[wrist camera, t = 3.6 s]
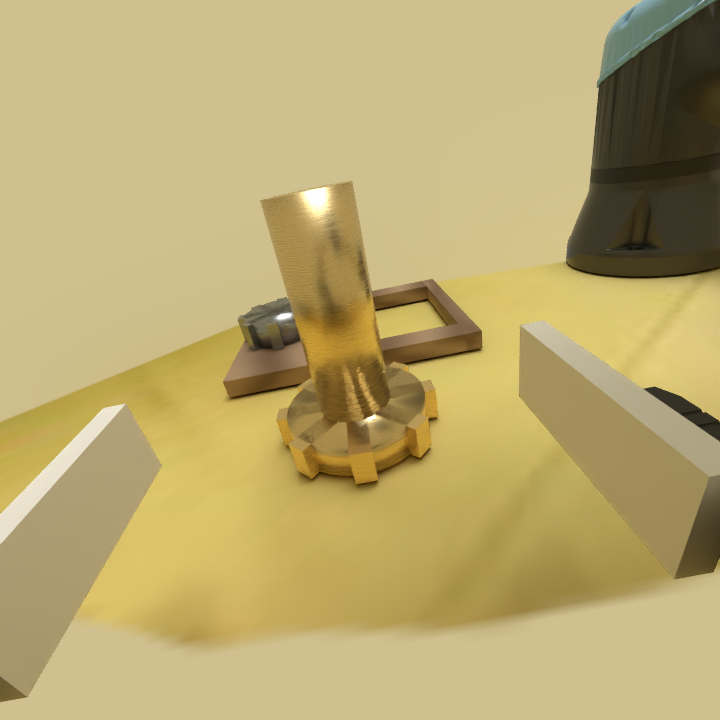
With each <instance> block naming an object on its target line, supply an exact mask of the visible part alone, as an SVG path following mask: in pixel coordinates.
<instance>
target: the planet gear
mask: <svg viewBox="0 0 720 720" xmlns="http://www.w3.org/2000/svg"><path fill="white" fill-rule="evenodd" d="M260 201H261V205H262V208H263V212H264V215H265V219H266V222H267V226H268V229H269V233H270V236H271V240H272V243H273V247H274V250H275V253H276V257H277V261H278V264H279V267H280V271H281V274H282V277H283V281H284V285H285V288H286V292H287V295H288V299H289V302H290V306H291V309H292V313H293V316H294V320H295V323H296V327H297V330H298V333H299V337H300V340H301V344H302V347H303V351H304V354H305V358H306V361H307V365H308V368H309V372H310V375H311V378H310V379H308V380H307V381H305V382H304V383H302V384H301V385H299V386H298V389H299V392H300V393H299V394H298V395H297V396H296V397H295V398H294V400H293V401H292V402H291V404H290V406H289V408H284V409H279V412H278V416H277V424H278V426H279V429H280V432H281V435H282V437H283V440H284V443H285V446H287V445H289V447H290V450H291V453H292V455H293V458H294V461H295V464H296V467H297V469H298V471H299V472H301V473H303V474H304V475H306V476H308V477H309V478H311V479H312V478H313V477H314V476H315V475H316V474H317V473H319V472H320V471H321V472H324V473H327V474H333V475H341V476H353V475H354V479H355V483H356V484H361V483H366V482H371V481H376V480H378V475H377V471H379V470H382V469H385V468H388V467H390V466H392V465H394V464H396V463H398V462H399V461H401V460H403V459H404V458H406V457H407V456H408V455H410V454H411V455H414V456H416V457H418V458H421V456H422V455H423V454H424V453H425V452H426V451H427V450H428V448H429V447H430V446H431V437H430V429H429V421H428V418H432V417H438V412H437V402H436V393H435V388H434V386H433V384H432V382H431V380H427V381H422V382H420V381H419V380H418V379H417V378H416V377H415V376H414V375H412V374H411V373H409V371H408V365H405V364H401V363H397V362H393V363H392V364H390V365H389V366H385V364H384V358H383V352H382V347H381V341H380V335H379V330H378V324H377V318H376V313H375V307H374V301H373V296H372V290H371V284H370V279H369V273H368V268H367V262H366V256H365V251H364V245H363V239H362V234H361V228H360V223H359V217H358V211H357V205H356V200H355V194H354V188H353V182H352V181H347V182H342V183H336V184H331V185H326V186H321V187H316V188H312V189H307V190H302V191H297V192H293V193H288V194H284V195H279V196H275V197H271V198H267V199H263V200H260Z"/></svg>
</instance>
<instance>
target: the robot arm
mask: <svg viewBox="0 0 720 720" xmlns="http://www.w3.org/2000/svg"><path fill="white" fill-rule="evenodd" d="M597 88H599V92H598V103H597V115H596V126H595V136H594V148H593V157H592V166H591V177H590V187H589V192H588V195H587V197H586V200H585V202H584V204H583V207H582V209H581V212H580V214H579V216H578V219H577V221H576V224H575V226H574V229H573V232H572V234H571V236H570V238H569V240H568V244H567V256H566V261H567V263H568V264H569V265H570V266H572V267H574V268H577V269H579V270H583V271H587V272H592V273H598V274H605V275H616V276H664V275H676V274H685V273H692V272H698V271H704V270H708V269H712V268H716V267H719V266H720V0H643V1H641V2H640V3H638V4H637V5H635V6H634V7H632V8H631V9H630V10H628V11H627V12H626V13H625V14H624V15H623V16H621V17H620V18H619V19H618V20H617V22H616V23H615V24H614V25H613V27H612V28H611V30H610V31H609V33H608V35H607V38H606V41H605V45H604V51H603V58H602V65H601V71H600V78H599V80H598V81H597ZM519 397H520V398H521V399H522V400H523V401H524V402H525V404H526V405H527V406H528V407H529V408H530V410H531V411H532V412H533V413H534V414H535V415H536V417H537V418H538V419H539V420H540V421H541V423H542V424H543V425H544V426H545V427H546V428H547V430H548V431H549V432H550V433H551V434H552V436H553V437H554V438H555V439H556V440H557V442H558V443H559V444H560V445H561V446H562V447H563V449H564V450H565V451H566V452H567V453H568V455H569V456H570V457H571V458H572V459H573V460H574V462H575V463H576V464H577V465H578V466H579V468H580V469H581V470H582V471H583V472H584V473H585V475H586V476H587V477H588V478H589V479H590V481H591V482H592V483H593V484H594V485H595V486H596V488H597V489H598V490H599V491H600V492H601V494H602V495H603V496H604V497H605V498H606V499H607V501H608V502H609V503H610V504H611V505H612V507H613V508H614V509H615V510H616V511H617V512H618V514H619V515H620V516H621V517H622V518H623V520H624V521H625V522H626V523H627V524H628V525H629V527H630V528H631V529H632V530H633V531H634V533H635V534H636V535H637V536H638V537H639V538H640V540H641V541H642V542H643V543H644V544H645V546H646V547H647V548H648V549H649V550H650V551H651V553H652V554H653V555H654V556H655V557H656V559H657V560H658V561H659V562H660V563H661V564H662V566H663V567H664V568H665V569H666V570H667V572H668V573H669V574H670V575H671V576H672V577H673V579H678V578H684V577H689V576H695V575H700V574H706V573H711V572H714V569H715V567H716V565H717V562H718V560H719V558H720V422H719V420H717V419H716V418H714V417H712V416H711V415H709V414H708V413H706V412H705V413H703V412H702V410H701V409H700V408H698V407H697V406H695V405H694V404H692V403H690V402H689V401H687V400H686V399H684V398H683V397H681V396H678V395H676V394H673V393H670V392H668V391H665V390H662V389H660V388H657V387H650V388H645V389H643V388H641V387H640V386H638V385H637V384H635V383H634V382H632V381H631V380H629V379H628V378H627V377H625V376H624V375H622V374H621V373H619V372H618V371H616V370H615V369H613V368H612V367H611V366H609V365H608V364H606V363H605V362H603V361H602V360H600V359H599V358H598V357H596V356H595V355H593V354H592V353H590V352H589V351H587V350H586V349H584V348H583V347H582V346H580V345H579V344H577V343H576V342H574V341H573V340H571V339H570V338H568V337H567V336H566V335H564V334H563V333H561V332H560V331H558V330H557V329H555V328H554V327H553V326H551V325H550V324H548V323H547V322H545V321H544V320H543V321H538V322H533V323H528V324H523V325H520V363H519ZM161 466H162V465H161V463H160V461H159V460H158V458H157V456H156V454H155V453H154V451H153V449H152V448H151V446H150V444H149V442H148V441H147V439H146V437H145V436H144V434H143V432H142V430H141V429H140V427H139V425H138V424H137V422H136V420H135V418H134V417H133V415H132V413H131V412H130V410H129V408H128V406H127V405H126V404H122V405H117V406H112V407H107V408H103V409H102V410H101V411H100V412H99V413H98V414H97V416H96V417H95V418H94V419H93V420H92V421H91V422H90V423H89V424H88V425H87V426H86V427H85V428H84V429H83V430H82V431H81V432H80V433H79V434H78V435H77V436H76V437H75V438H74V439H73V440H72V441H71V442H70V443H69V444H68V445H67V446H66V447H65V448H64V449H63V450H62V452H61V453H60V454H59V455H58V456H57V457H56V458H55V459H54V460H53V461H52V462H51V463H50V464H49V465H48V466H47V467H46V468H45V469H44V470H43V471H42V472H41V473H40V474H39V475H38V476H37V477H36V478H35V479H34V480H33V481H32V482H31V483H30V484H29V485H28V486H27V488H26V489H25V490H24V491H23V492H22V493H21V494H20V495H19V496H18V497H17V498H16V499H15V500H14V501H13V502H12V503H11V504H10V505H9V506H8V507H7V508H6V509H5V510H4V511H3V512H2V513H1V514H0V702H3V701H8V700H14V699H19V698H25V697H28V695H29V693H30V692H31V690H32V689H33V687H34V685H35V683H36V682H37V680H38V678H39V676H40V675H41V673H42V671H43V670H44V668H45V666H46V664H47V663H48V661H49V659H50V658H51V656H52V654H53V652H54V651H55V649H56V647H57V645H58V644H59V642H60V640H61V638H62V637H63V635H64V633H65V632H66V630H67V628H68V627H69V625H70V623H71V621H72V620H73V618H74V616H75V615H76V613H77V611H78V609H79V608H80V606H81V604H82V602H83V601H84V599H85V597H86V596H87V594H88V592H89V590H90V589H91V587H92V585H93V584H94V582H95V580H96V578H97V577H98V575H99V573H100V571H101V570H102V568H103V566H104V565H105V563H106V561H107V559H108V558H109V556H110V554H111V553H112V551H113V549H114V547H115V546H116V544H117V542H118V540H119V539H120V537H121V535H122V534H123V532H124V530H125V528H126V527H127V525H128V523H129V522H130V520H131V518H132V516H133V515H134V513H135V511H136V509H137V508H138V506H139V504H140V503H141V501H142V499H143V497H144V496H145V494H146V492H147V491H148V489H149V487H150V485H151V484H152V482H153V480H154V478H155V477H156V475H157V473H158V472H159V470H160V468H161Z"/></svg>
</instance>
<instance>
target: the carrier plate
mask: <svg viewBox="0 0 720 720" xmlns="http://www.w3.org/2000/svg"><path fill="white" fill-rule="evenodd" d="M372 296H373V301H374V307H375V309H380V308H385V307H390V306H395V305H400V304H405V303H409V302H414V301H419V300H424V299H429V301H430V302H431V303H432V305H433V306H434V307H435V309H436V310H437V311H438V313H439V314H440V315H441V316H442V318H443V319H444V320H445V322H446V323H447V324H448V326H444V327H439V328H434V329H429V330H424V331H419V332H414V333H408V334H403V335H398V336H393V337H388V338H383V339H380V341H381V347H382V352H383V358H384V364H385V366H389V365H390V364H392V363H393V362H397V363H401V364H402V363H407V362H412V361H417V360H422V359H427V358H432V357H437V356H442V355H447V354H452V353H458V352H463V351H468V350H473V349H478V348H482V331H481V330H480V329H479V327H478V326H477V325H476V324H475V323H474V322H473V321H472V320H471V319H470V318H469V317H468V316H467V315H466V314H465V313H464V312H463V311H462V310H461V309H460V308H459V306H458V305H457V304H456V303H455V302H454V301H453V300H452V299H451V298H450V297H449V296H448V295H447V294H446V293H445V292H444V291H443V290H442V289H441V288H440V286H439V285H438V284H437V283H436V282H435V281H434V280H433V279H430V280H425V281H420V282H416V283H411V284H405V285H401V286H396V287H391V288H386V289H381V290H376V291H372ZM310 378H311V375H310V372H309V368H308V365H307V361H306V358H305V354H304V351H303V347H302V344H301V341H299V342H297V343H294V344H291V345H288V346H286V347H285V349H281V350H276V351H274V349H259V350H257V351H254V350H250V348H249V345H248V343H246V341H244V343H243V345H242V347H241V349H240V351H239V353H238V354H237V356H236V358H235V360H234V362H233V364H232V366H231V368H230V370H229V372H228V373H227V375H226V377H225V379H224V381H223V383H224V385H225V388H226V390H227V393H228V395H229V397H234V396H239V395H244V394H249V393H254V392H259V391H264V390H270V389H275V388H280V387H285V386H290V385H295V384H300V383H304V382H305V381H307V380H308V379H310Z"/></svg>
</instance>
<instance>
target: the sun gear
mask: <svg viewBox="0 0 720 720" xmlns="http://www.w3.org/2000/svg"><path fill="white" fill-rule="evenodd" d="M238 322H239V325H240V327H241V330H242V333H243V335H244V338H245V341H246V343H248V345H249V348H250V350H254V351H257V350H259V349H274V351H276V350H281V349H285V347H286V346H288V345H291V344H294V343H297V342H299V341H301V340H300V337H299V333H298V330H297V327H296V323H295V320H294V316H293V313H292V309H291V306H290V302H289V299H288V298H287V297H285V298H280V299H277V301H273V302H270V303H267V304H264V305H258V306H255V307H253V308H252V310H251V311H250V312H248V313H247V314H246V315H242V316H240V317H239V318H238Z"/></svg>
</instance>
